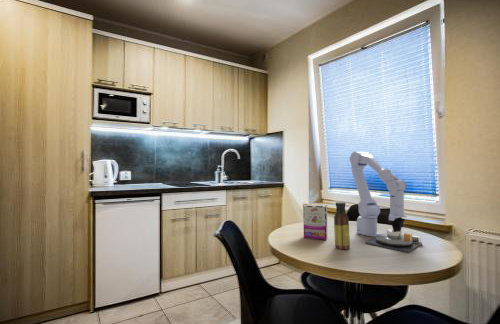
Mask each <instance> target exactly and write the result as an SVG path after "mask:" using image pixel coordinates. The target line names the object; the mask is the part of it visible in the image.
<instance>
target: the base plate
mask: <svg viewBox="0 0 500 324" xmlns="http://www.w3.org/2000/svg"><path fill="white" fill-rule="evenodd" d="M412 240H413V244H412V245H411V246H391V245H386V244H382V243H379V242H377V241H376V237H372V238H370V239H368V240H367V241H365V244H367V245H370V246H376V247H379V248H384V249H388V250H389V249H390V250H393V251H398V252H403V253H407V254H408V253H409V254H410V253H411V252H412V251H414V250H416V249H417V248H418V247H420V246H422V245H423V242H422V237H421V236H419V235H413V234H412Z"/></svg>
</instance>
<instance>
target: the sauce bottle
mask: <svg viewBox="0 0 500 324" xmlns="http://www.w3.org/2000/svg"><path fill="white" fill-rule="evenodd" d="M335 207H336V212H335V214H334V216H333V224H334V225H333V226H334V227H333V229H334V230H333V231H334V244H335V245H334V246H335V248H336V249H338V250H349V249H350V247H351V239H350V224H349V223H350V222H349V216H348V215H347V212H346V202H344V201H336V202H335Z"/></svg>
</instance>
